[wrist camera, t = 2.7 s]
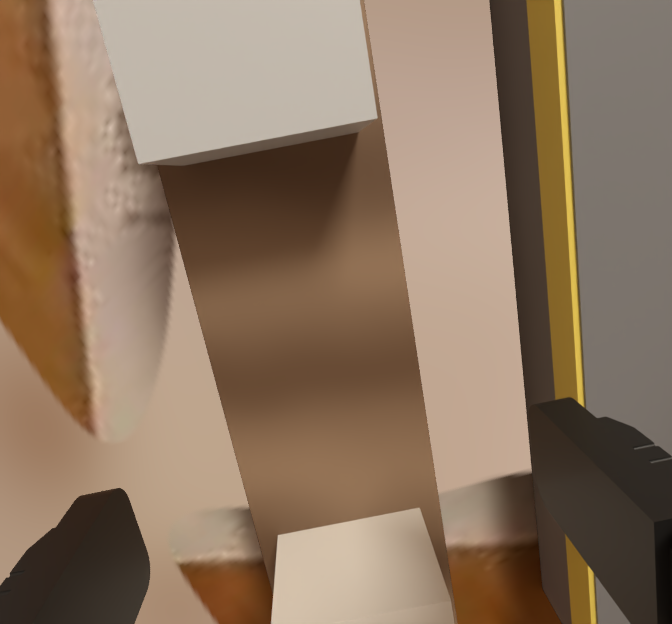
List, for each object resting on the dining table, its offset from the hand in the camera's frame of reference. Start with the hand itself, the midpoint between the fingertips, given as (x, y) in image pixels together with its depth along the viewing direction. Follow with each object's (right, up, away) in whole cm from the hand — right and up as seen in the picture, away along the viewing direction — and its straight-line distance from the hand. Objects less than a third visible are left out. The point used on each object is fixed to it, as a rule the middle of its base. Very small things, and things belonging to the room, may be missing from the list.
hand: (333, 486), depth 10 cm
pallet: (-1, +3, +10) cm, 10 cm away
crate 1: (-2, +10, +4) cm, 11 cm away
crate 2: (+1, -6, +8) cm, 10 cm away
